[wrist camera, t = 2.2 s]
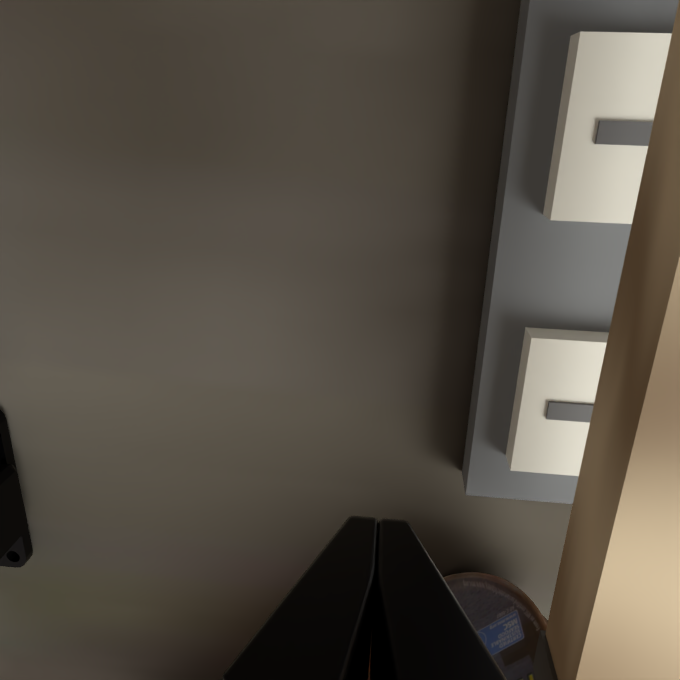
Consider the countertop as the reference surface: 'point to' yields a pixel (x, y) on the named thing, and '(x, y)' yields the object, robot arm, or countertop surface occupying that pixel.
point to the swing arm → (631, 452)
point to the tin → (500, 620)
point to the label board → (560, 236)
